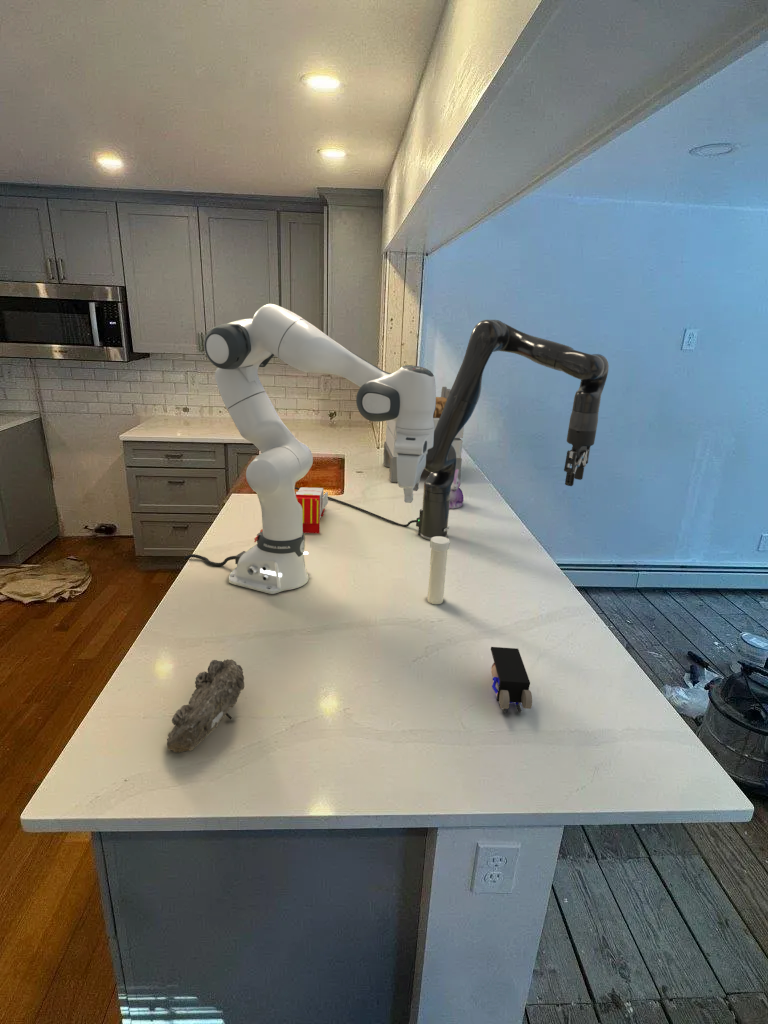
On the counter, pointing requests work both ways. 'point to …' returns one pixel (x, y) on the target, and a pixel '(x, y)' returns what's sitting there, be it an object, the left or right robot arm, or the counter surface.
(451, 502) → the figurine
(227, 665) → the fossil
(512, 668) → the figurine character
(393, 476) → the transformer
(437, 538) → the lid
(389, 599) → the counter surface
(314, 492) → the toy
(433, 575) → the beige canister
